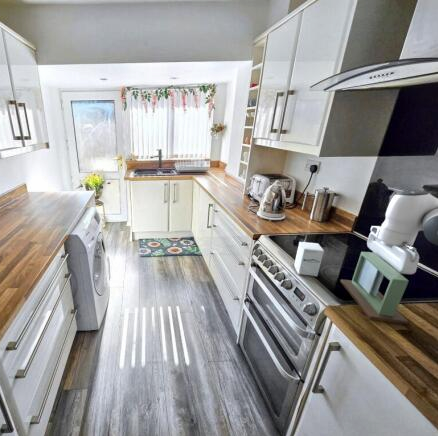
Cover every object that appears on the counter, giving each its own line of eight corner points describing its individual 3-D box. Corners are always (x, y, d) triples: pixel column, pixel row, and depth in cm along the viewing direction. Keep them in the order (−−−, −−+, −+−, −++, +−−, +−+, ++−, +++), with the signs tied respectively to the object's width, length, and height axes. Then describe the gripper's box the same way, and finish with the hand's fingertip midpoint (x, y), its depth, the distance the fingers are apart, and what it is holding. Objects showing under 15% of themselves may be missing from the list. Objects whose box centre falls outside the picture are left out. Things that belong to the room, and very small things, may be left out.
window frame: (369, 284, 95) (381, 251, 90) (407, 324, 76) (425, 285, 71) (340, 281, 98) (349, 248, 92) (369, 319, 79) (384, 280, 74)
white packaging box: (298, 274, 103) (303, 248, 99) (293, 265, 110) (299, 241, 105) (317, 277, 101) (324, 250, 97) (312, 267, 108) (318, 242, 103)
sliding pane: (377, 284, 91) (386, 259, 87) (390, 297, 84) (401, 271, 80) (362, 282, 92) (370, 258, 88) (374, 295, 85) (384, 269, 81)
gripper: (432, 251, 72) (415, 289, 77) (388, 225, 91) (377, 257, 96) (406, 249, 74) (391, 286, 79) (368, 224, 92) (358, 256, 97)
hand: (383, 270), depth 87 cm, fingers open, 8 cm apart
